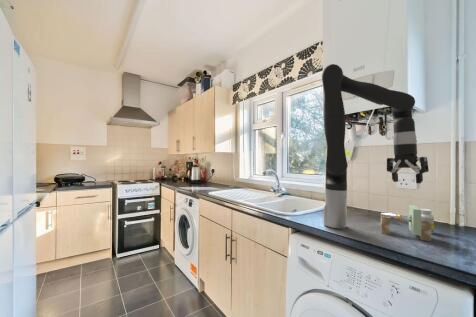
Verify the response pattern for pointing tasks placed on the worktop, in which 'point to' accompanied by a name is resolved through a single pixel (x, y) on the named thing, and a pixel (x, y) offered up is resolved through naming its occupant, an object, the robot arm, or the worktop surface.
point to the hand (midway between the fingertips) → (406, 182)
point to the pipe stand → (424, 235)
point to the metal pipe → (402, 217)
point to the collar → (415, 220)
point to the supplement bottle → (427, 214)
